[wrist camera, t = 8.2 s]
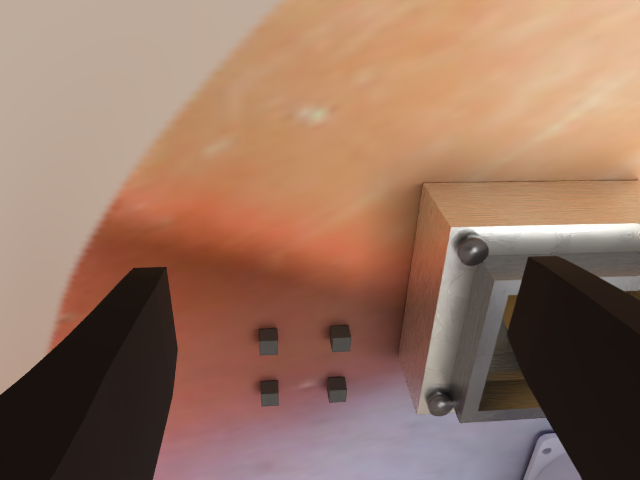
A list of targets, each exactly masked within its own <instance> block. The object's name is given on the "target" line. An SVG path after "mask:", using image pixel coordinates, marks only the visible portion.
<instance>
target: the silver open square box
mask: <svg viewBox="0 0 640 480" xmlns="http://www.w3.org/2000/svg"><path fill="white" fill-rule="evenodd" d="M534 256H558V257H561V258H563V259H565V260H567V261H569V262H571V263H573V264H575V265H577V266H579V267H581V268H583V269H585V270H587V271H589V272H590V273H592V274H594V275H596V276H598V277H600V278H601V279H603V280H605V281H607V282H608V283H610V284H612V285H614V286H616V287H617V288H619V289H621V290H623V291H624V292H626V293H628V294H630V295H632V296H633V297H635V298H637V299H639V300H640V181H639V180H617V181H542V182H467V183H423V187H422V194H421V201H420V208H419V215H418V221H417V228H416V235H415V242H414V249H413V256H412V263H411V270H410V277H409V284H408V291H407V298H406V305H405V311H404V318H403V325H402V332H401V339H400V346H399V353H398V358H399V361H400V364H401V367H402V370H403V373H404V376H405V379H406V382H407V385H408V388H409V391H410V395H411V398H412V401H413V404H414V407H415V410H416V413H417V415H419V414H432V415H434V416H443V415H446V414H448V413H452V412H456V415H457V417H458V420H459V422H460V423H469V422H485V421H501V420H517V419H533V418H546V416H545V414H544V413H543V411H542V409H541V407H540V406H539V404H538V402H537V400H536V398H535V397H534V395H533V393H532V391H531V390H530V388H529V386H528V384H527V382H526V380H525V379H524V377H523V374H522V372H521V369H520V367H519V365H518V362H517V360H516V358H515V355H514V352H513V350H512V347H511V344H510V342H509V339H508V336H507V331H508V329H507V327H506V325H505V323H504V320H503V314H504V310H505V307H506V303H507V299H508V295H518V292H519V288H520V285H521V281H522V277H523V274H524V270H525V266H526V263H527V259H528V257H534Z"/></svg>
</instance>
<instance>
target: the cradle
mask: <svg viewBox="0 0 640 480" xmlns="http://www.w3.org/2000/svg"><path fill="white" fill-rule="evenodd" d="M330 342H331V348H332V352H345V351H350V346H351V334H350V330H349V326H331V334H330ZM259 348H260V355H278V332H277V329H259ZM327 391H328V398H329V403H333V402H346V395H347V388H346V382H345V377H340V378H328V387H327ZM262 406H279V397H278V381H262V382H261V407H262Z"/></svg>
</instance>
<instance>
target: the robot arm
mask: <svg viewBox="0 0 640 480" xmlns="http://www.w3.org/2000/svg"><path fill="white" fill-rule="evenodd" d="M507 336H508V339H509V342H510V344H511V347H512V350H513V352H514V355H515V358H516V360H517V362H518V365H519V367H520V369H521V372H522V374H523V377H524V379H525V380H526V382H527V384H528V386H529V388H530V390H531V391H532V393H533V395H534V397H535V398H536V400H537V402H538V404H539V406H540V407H541V409H542V411H543V413H544V414H545V416H546V418H547V420H548V421H549V423H550V425H551V426H552V428H553V430H554V432H555V433H550V434H544V435H542V436H541V437H539V439H538V441H537V444H536V446H535V449H534V452H533V455H532V457H531V460H530V463H529V466H528V468H527V471H526V474H525V477H524V479H523V480H640V300H639V299H637V298H635V297H633V296H632V295H630V294H628V293H626V292H624V291H623V290H621V289H619V288H617V287H616V286H614V285H612V284H610V283H608V282H607V281H605V280H603V279H601V278H600V277H598V276H596V275H594V274H592V273H590V272H589V271H587V270H585V269H583V268H581V267H579V266H577V265H575V264H573V263H571V262H569V261H567V260H565V259H563V258H561V257H558V256H534V257H528V259H527V263H526V266H525V270H524V274H523V277H522V281H521V285H520V288H519V292H518V295H517V299H516V303H515V306H514V310H513V313H512V317H511V321H510V324H509V328H508V331H507ZM177 350H178V348H177V341H176V333H175V326H174V319H173V312H172V304H171V297H170V290H169V283H168V275H167V268H166V267H152V268H133V269H132V270H131V271H130V272H129V273H128V274H127V275H126V276H125V277H124V278H123V279H122V280H121V281H120V282H119V283H118V284H117V285H116V286H115V287H114V289H113V290H112V291H111V292H110V293H109V294H108V295H107V296H106V297H105V298H104V299H103V300H102V301H101V302H100V303H99V304H98V305H97V307H96V308H95V309H94V310H93V311H92V312H91V313H90V314H89V315H88V316H87V317H86V318H85V319H84V320H83V321H82V322H81V323H80V324H79V325H78V326H77V327H76V328H75V329H74V330H73V331H72V332H71V333H70V334H69V335H68V336H67V337H66V338H65V339H64V340H63V341H62V342H61V343H60V344H58V345H57V346H56V347H55V348H54V349H53V350H52V351H51V352H50V353H49V354H47V355H46V356H45V357H44V358H43V359H42V360H41V361H40V362H39V363H38V364H36V365H35V366H34V367H33V368H32V369H31V370H30V371H29V372H28V373H26V374H25V375H24V376H23V377H22V378H21V379H19V380H18V381H17V382H16V383H15V384H13V385H12V386H11V387H10V388H8V389H7V390H6V391H5V392H3V393H2V394H1V395H0V480H153V476H154V472H155V468H156V464H157V459H158V455H159V451H160V447H161V443H162V439H163V434H164V430H165V426H166V422H167V417H168V413H169V409H170V405H171V400H172V396H173V387H174V379H175V370H176V360H177Z"/></svg>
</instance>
